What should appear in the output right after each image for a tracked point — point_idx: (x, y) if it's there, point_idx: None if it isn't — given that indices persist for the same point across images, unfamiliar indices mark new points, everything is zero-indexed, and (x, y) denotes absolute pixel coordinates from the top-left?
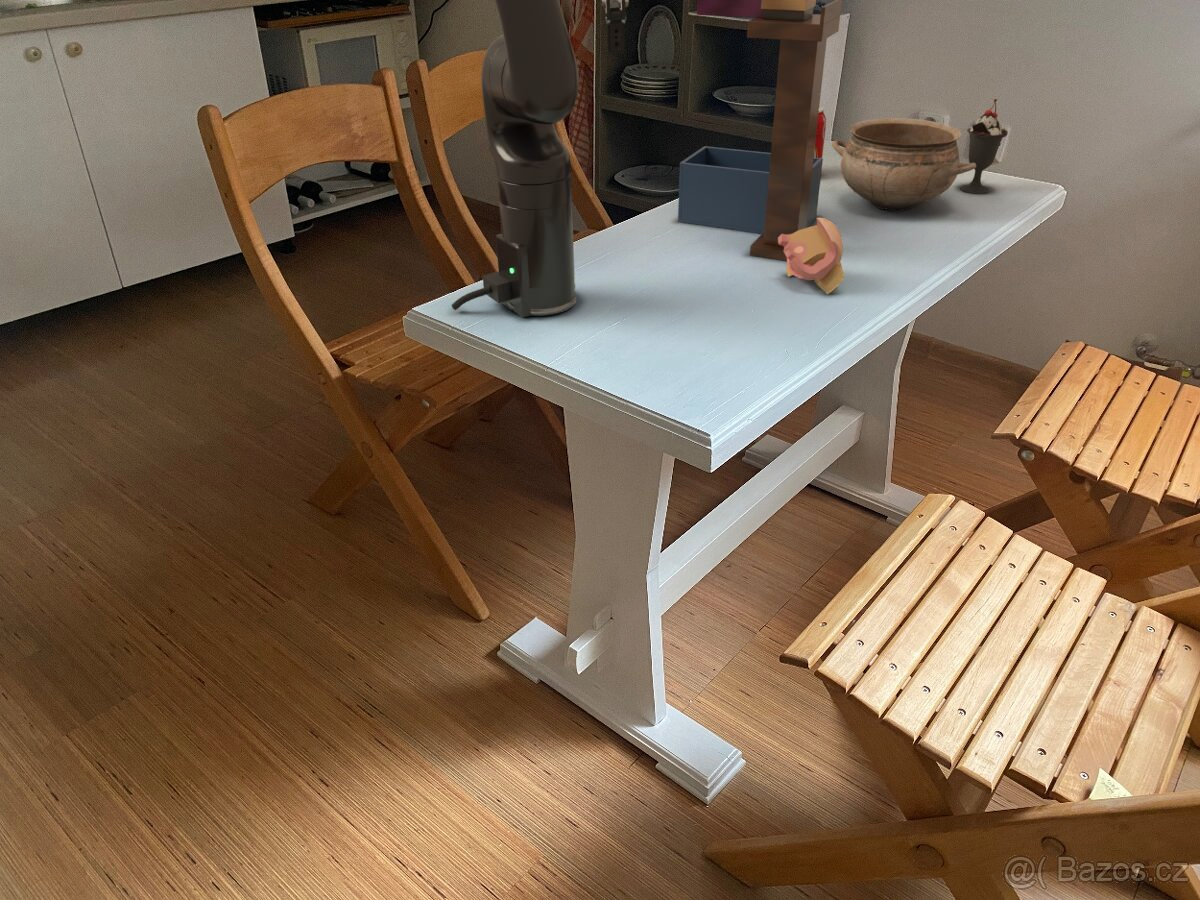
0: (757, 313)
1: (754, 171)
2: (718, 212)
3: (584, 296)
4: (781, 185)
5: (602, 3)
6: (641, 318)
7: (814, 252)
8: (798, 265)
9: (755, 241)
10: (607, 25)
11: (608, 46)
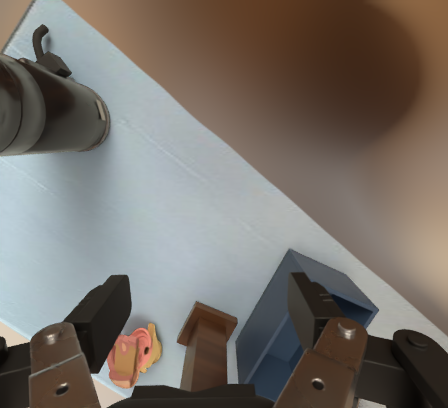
0: (75, 293)
1: (264, 350)
2: (272, 290)
3: (96, 158)
4: (188, 370)
5: (59, 363)
6: (55, 207)
7: (117, 357)
8: None
9: (206, 311)
10: (72, 320)
11: (104, 284)
